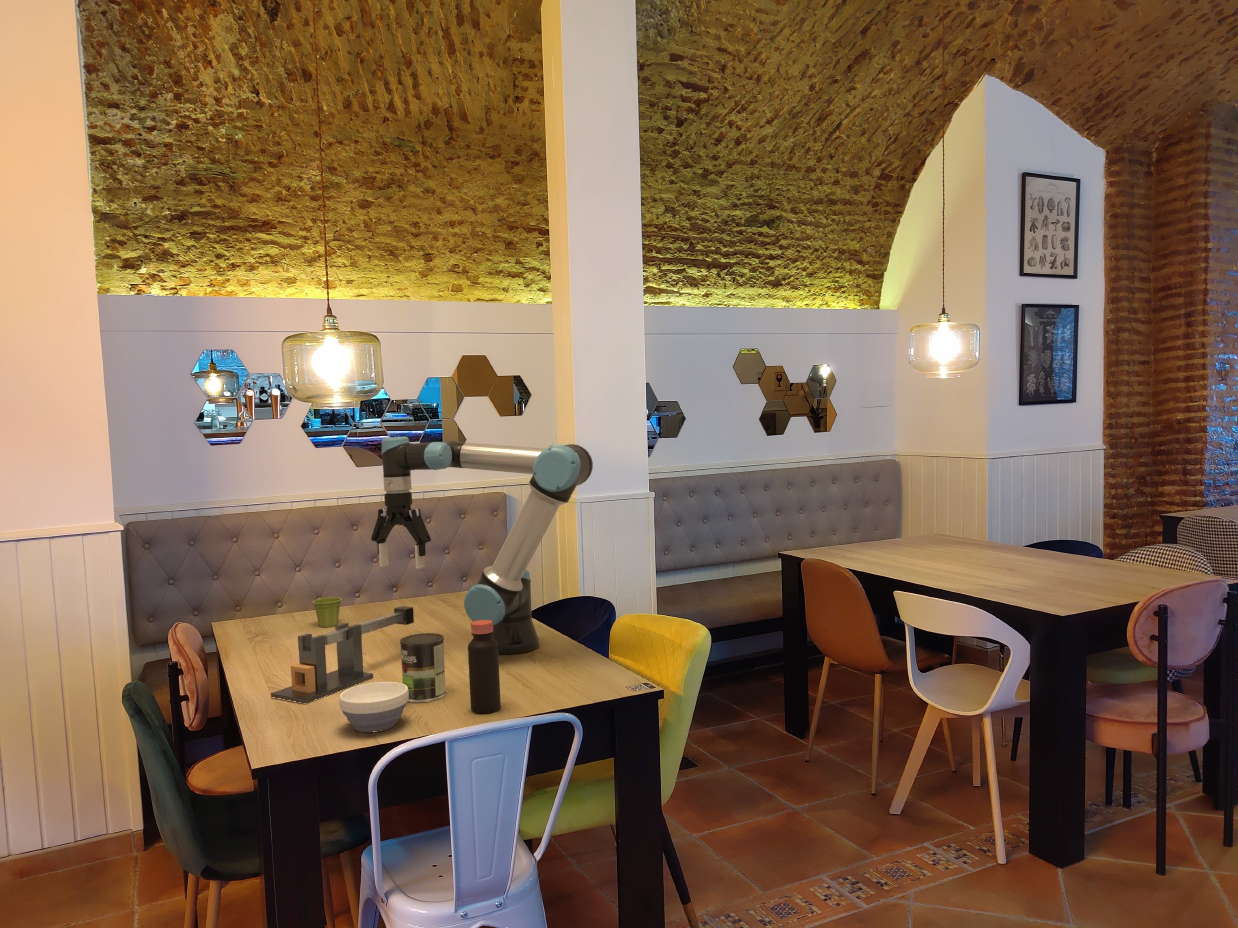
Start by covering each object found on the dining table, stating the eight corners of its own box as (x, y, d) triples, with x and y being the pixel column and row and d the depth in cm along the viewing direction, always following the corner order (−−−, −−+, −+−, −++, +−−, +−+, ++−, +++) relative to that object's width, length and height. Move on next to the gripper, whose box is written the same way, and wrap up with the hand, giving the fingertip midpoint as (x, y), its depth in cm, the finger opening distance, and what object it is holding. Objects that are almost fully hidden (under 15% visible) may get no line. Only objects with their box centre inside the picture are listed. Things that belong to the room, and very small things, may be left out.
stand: (373, 678, 218) (370, 624, 217) (305, 704, 198) (301, 646, 198) (340, 673, 223) (337, 621, 223) (271, 697, 204) (267, 641, 203)
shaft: (413, 622, 236) (413, 607, 236) (330, 649, 210) (329, 631, 210) (402, 621, 238) (401, 606, 238) (318, 647, 212) (317, 630, 212)
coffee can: (417, 706, 194) (414, 646, 193) (394, 696, 201) (391, 639, 201) (455, 694, 201) (452, 637, 200) (431, 686, 208) (429, 630, 208)
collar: (315, 690, 205) (314, 666, 205) (309, 692, 203) (307, 668, 203) (298, 687, 208) (297, 663, 207) (292, 689, 206) (290, 665, 206)
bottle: (479, 716, 185) (474, 627, 184) (465, 708, 190) (461, 622, 190) (506, 709, 189) (502, 622, 188) (492, 702, 194) (488, 617, 194)
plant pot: (312, 624, 283) (311, 599, 283) (341, 620, 287) (340, 595, 286) (314, 630, 274) (313, 604, 274) (344, 626, 278) (343, 600, 278)
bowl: (423, 723, 182) (421, 688, 182) (364, 743, 171) (362, 707, 171) (386, 710, 192) (384, 677, 192) (328, 728, 181) (326, 694, 181)
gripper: (355, 493, 237) (360, 567, 238) (422, 492, 225) (426, 570, 226) (375, 490, 244) (379, 562, 245) (441, 490, 232) (445, 566, 233)
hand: (402, 566), depth 235 cm, fingers open, 13 cm apart
